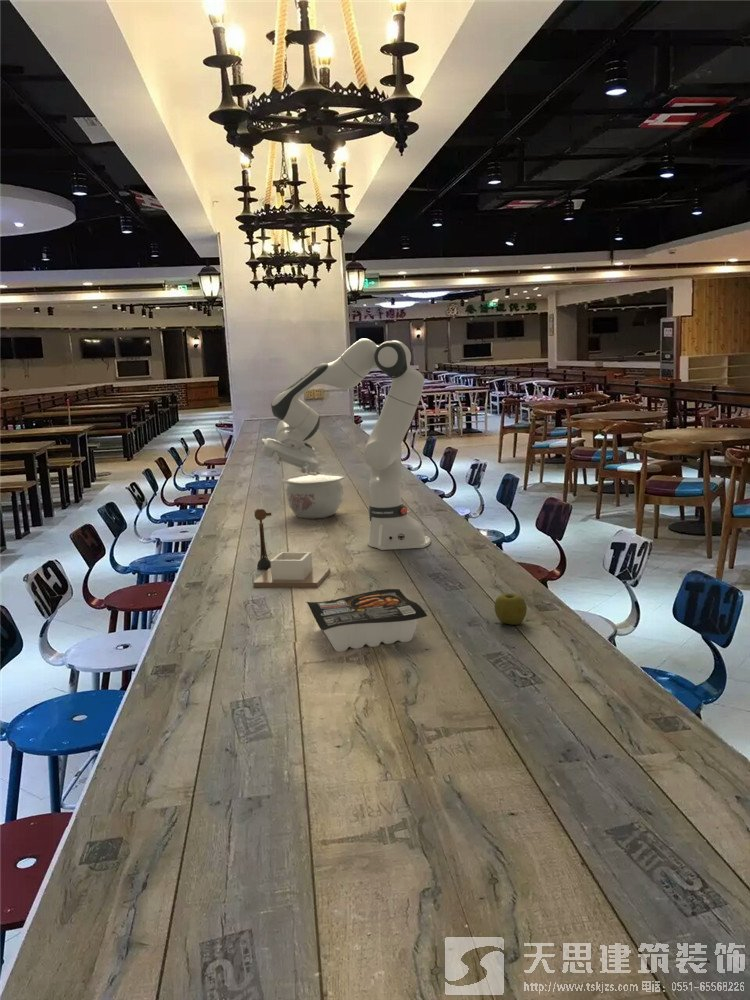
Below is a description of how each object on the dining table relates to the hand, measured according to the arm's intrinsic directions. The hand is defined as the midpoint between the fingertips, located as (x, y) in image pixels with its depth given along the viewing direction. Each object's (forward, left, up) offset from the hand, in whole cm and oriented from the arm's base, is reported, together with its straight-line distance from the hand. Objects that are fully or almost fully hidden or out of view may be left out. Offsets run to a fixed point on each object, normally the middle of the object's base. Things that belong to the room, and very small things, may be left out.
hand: (291, 466), depth 262 cm
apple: (-73, +63, -32) cm, 102 cm away
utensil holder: (-6, +27, -31) cm, 42 cm away
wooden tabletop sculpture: (+7, +14, -31) cm, 35 cm away
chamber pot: (+12, -68, -32) cm, 76 cm away
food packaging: (-38, +73, -32) cm, 88 cm away
